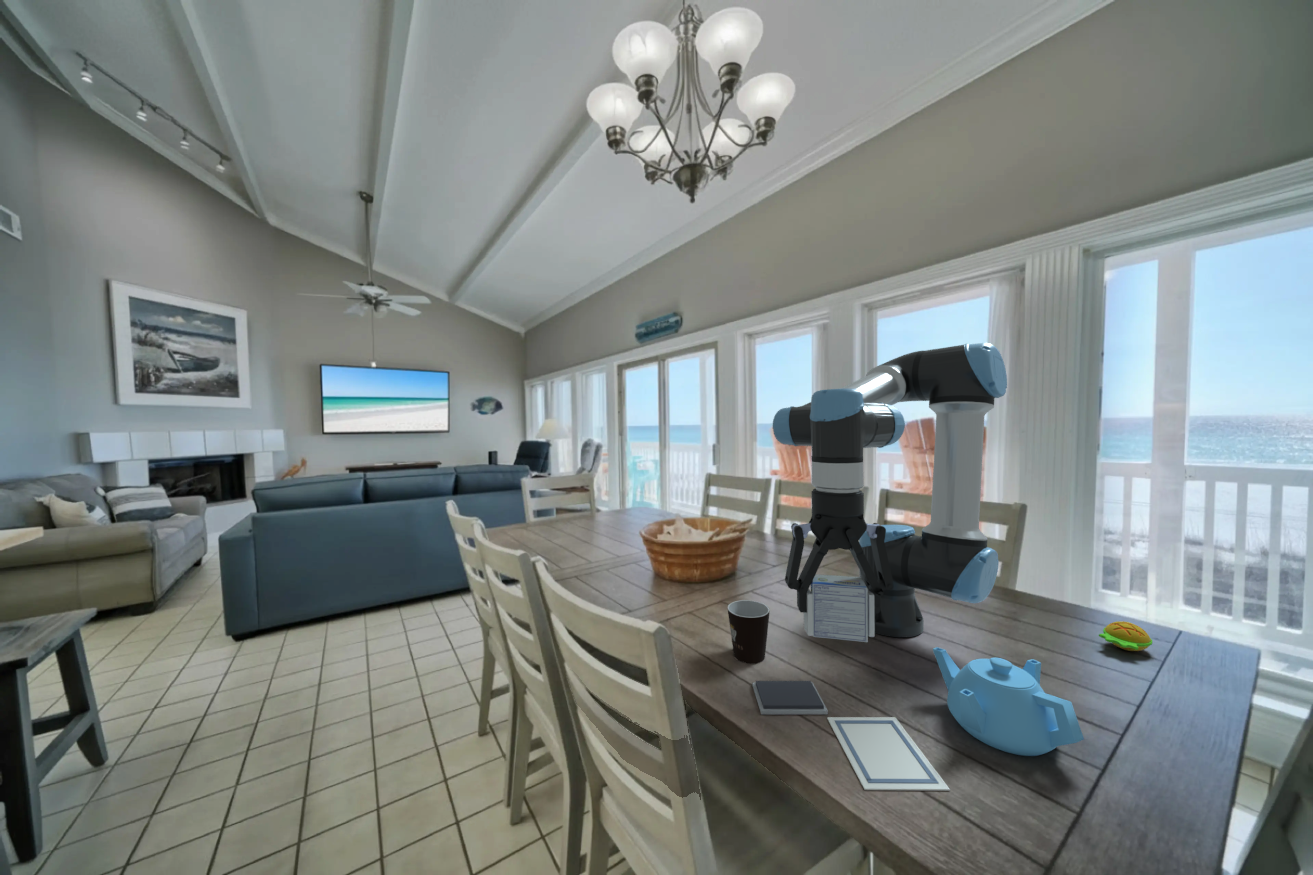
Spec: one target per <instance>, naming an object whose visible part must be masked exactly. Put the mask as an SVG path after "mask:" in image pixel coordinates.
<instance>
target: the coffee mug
mask: <svg viewBox="0 0 1313 875" xmlns="http://www.w3.org/2000/svg"><path fill="white" fill-rule="evenodd" d="M727 615H728V623H729V629H730V637H731V642H732V643H731V644H732V651H733V657H734V658H735V659H736V660H737V661H739V662H741V663H744V664H748V665H756V664H760V663H762V662H764V660H765V659H766V650H767V643H768V642H767V638H768V633H769V632H768V631H769V620H770V607H769V606H768V605H767V604H765V603H763V602H761V601H760V602H759V601H757V600H749V599H741V600H736V601H732V602H730V603H729V604H728V605H727Z"/></svg>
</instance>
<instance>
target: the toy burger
mask: <svg viewBox="0 0 1313 875" xmlns="http://www.w3.org/2000/svg"><path fill="white" fill-rule="evenodd" d="M1098 636H1099V637H1100V638H1102V639H1104V641H1105V642H1107V643H1111V644H1112V645H1114V646H1116V648H1117V647H1118V648H1119V649H1122V650H1125V651H1128V652H1129V651H1130V652H1139V651H1140V652H1141V651H1144V650H1146V649H1148V648H1149V647H1150V646H1152V644H1153V639H1152V638H1151V637H1150V635H1149V633H1147V632H1146V631H1145V629H1144V628H1142V627H1140V626H1139V625H1137V624H1134V623H1133V622H1129V621H1122V620H1121V621H1120V620H1119V621H1113V622H1110V623H1109V624H1107V625H1106V626H1105V627H1104V628H1103V630H1102V633H1099V634H1098Z"/></svg>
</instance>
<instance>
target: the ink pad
mask: <svg viewBox="0 0 1313 875" xmlns="http://www.w3.org/2000/svg"><path fill="white" fill-rule="evenodd" d="M752 688H753V692H754V696H755V698H756V701H757V706H758V708H759V711H760V715H828V714H829V711H828V708H827V706H826V705H825V703H824V701H823V699H822V696H820V694H819V691H818V690H817V688H816V686H815V684H814V682H812V681H811V680H755V682H752Z"/></svg>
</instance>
